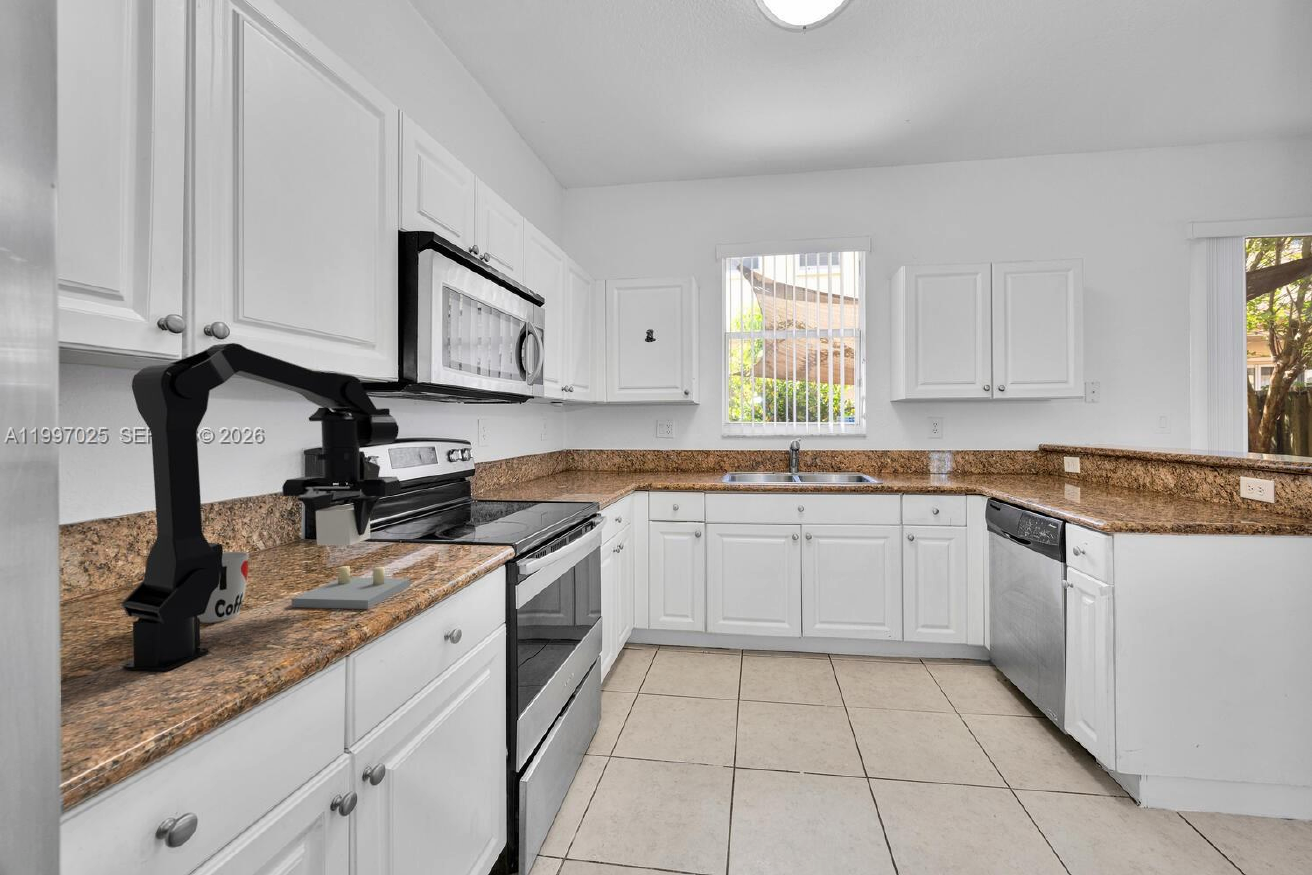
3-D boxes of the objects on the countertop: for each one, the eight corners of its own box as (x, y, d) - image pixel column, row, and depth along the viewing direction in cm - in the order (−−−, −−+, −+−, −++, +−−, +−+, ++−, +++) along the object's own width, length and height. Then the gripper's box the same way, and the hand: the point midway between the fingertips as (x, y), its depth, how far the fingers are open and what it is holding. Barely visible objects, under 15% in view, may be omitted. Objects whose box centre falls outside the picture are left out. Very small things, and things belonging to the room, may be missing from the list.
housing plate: (368, 608, 98) (367, 582, 98) (291, 606, 100) (291, 581, 99) (410, 586, 112) (409, 563, 112) (342, 584, 113) (342, 562, 113)
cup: (216, 627, 89) (215, 564, 89) (174, 624, 91) (173, 561, 91) (261, 611, 97) (260, 552, 97) (222, 608, 99) (221, 550, 99)
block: (350, 545, 98) (348, 510, 98) (317, 545, 99) (315, 510, 98) (370, 537, 104) (369, 505, 104) (339, 537, 105) (338, 505, 104)
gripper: (415, 443, 108) (417, 526, 108) (321, 444, 109) (324, 525, 110) (381, 447, 97) (384, 539, 97) (278, 448, 98) (282, 538, 99)
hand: (344, 534), depth 101 cm, fingers closed on block, 6 cm apart
